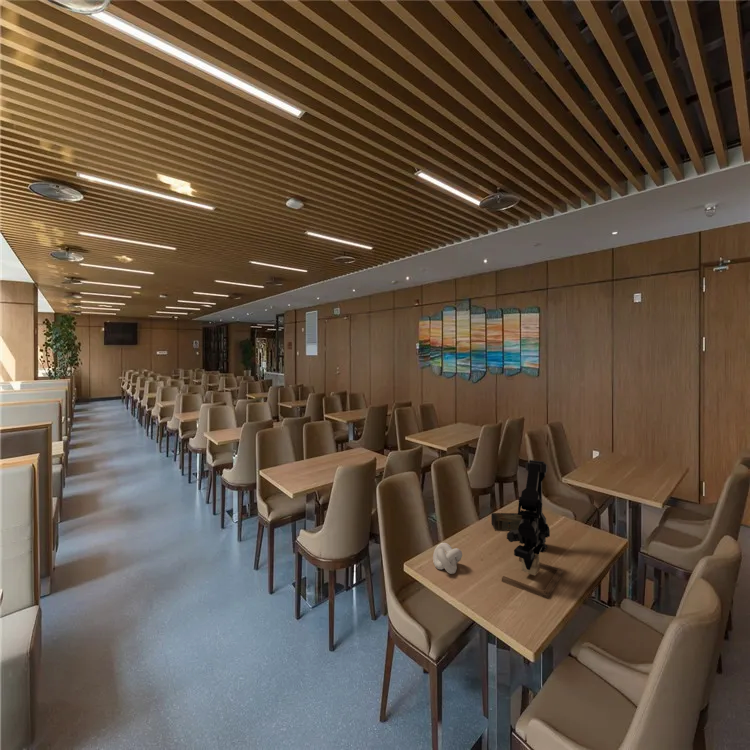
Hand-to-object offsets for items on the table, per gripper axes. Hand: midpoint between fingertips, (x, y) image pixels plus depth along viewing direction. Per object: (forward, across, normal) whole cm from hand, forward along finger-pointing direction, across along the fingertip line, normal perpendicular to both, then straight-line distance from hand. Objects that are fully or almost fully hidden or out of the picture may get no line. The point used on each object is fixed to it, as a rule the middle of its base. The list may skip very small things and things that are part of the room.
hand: (530, 566), depth 143 cm
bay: (+4, 0, 0) cm, 4 cm away
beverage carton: (+5, -38, -22) cm, 44 cm away
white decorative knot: (+4, +15, -29) cm, 33 cm away
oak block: (+2, 0, 0) cm, 2 cm away
